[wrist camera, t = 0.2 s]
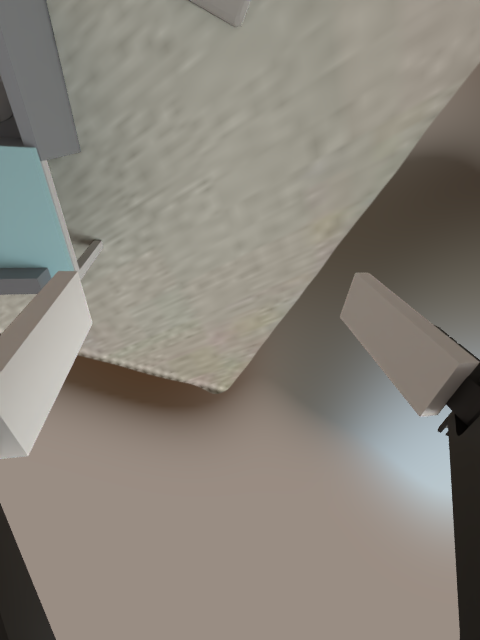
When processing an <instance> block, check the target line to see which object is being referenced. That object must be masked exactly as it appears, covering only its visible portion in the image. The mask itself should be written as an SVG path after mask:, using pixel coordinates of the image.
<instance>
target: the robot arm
mask: <svg viewBox="0 0 480 640" xmlns="http://www.w3.org/2000/svg"><path fill="white" fill-rule="evenodd" d="M340 318H341V319H342V320H343V322H344V323H345V324H346V325H347V327H348V328H349V329H350V330H351V331H352V333H353V334H354V335H355V336H356V338H357V339H358V340H359V342H360V343H361V344H362V345H363V346H364V348H365V349H366V350H367V351H368V353H369V354H370V355H371V356H372V358H373V359H374V360H375V361H376V363H377V364H378V365H379V366H380V368H381V369H382V370H383V371H384V373H385V374H386V375H387V376H388V378H389V379H390V380H391V381H392V383H393V384H394V385H395V386H396V388H397V389H398V390H399V391H400V393H401V394H402V395H403V396H404V398H405V399H406V400H407V401H408V403H409V404H410V405H411V406H412V408H413V409H414V410H415V411H416V413H417V414H418V415H419V416H420V417H423V416H433V415H438V414H439V413H440V411H441V410H442V409H443V408H444V406H445V405H447V406H448V407H449V408H450V409H451V410H452V412H451V413H450V414H449V416H448V417H447V418H446V419H445V420H444V422H443V423H442V424H441V425H440V426H439V428H438V431H439V432H442V431H443V430H444V428H446V427H447V428H448V432H447V433H446V435H447V436H449V449H450V465H451V483H452V501H453V519H454V537H455V553H456V572H457V590H458V607H459V625H460V640H480V360H479V359H478V358H476V357H475V356H474V355H473V354H472V353H470V352H469V351H468V350H467V349H465V348H464V347H463V346H462V345H460V344H457V342H456V341H455V340H454V339H453V338H451V337H449V335H447V333H445V332H444V331H443V330H441V329H440V328H439V327H437V326H435V325H433V324H432V323H430V322H429V321H428V320H427V319H425V318H424V317H423V316H422V315H420V314H419V313H418V312H417V311H416V310H414V309H413V308H412V307H411V306H409V305H408V304H407V303H406V302H404V301H403V300H402V299H401V298H399V297H398V296H397V295H396V294H394V293H393V292H392V291H391V290H389V289H388V288H387V287H386V286H384V285H383V284H382V283H381V282H379V281H378V280H377V279H376V278H375V277H373V276H372V275H371V274H370V273H355V275H354V278H353V281H352V284H351V287H350V289H349V292H348V295H347V298H346V301H345V304H344V306H343V309H342V312H341V315H340ZM91 325H92V319H91V316H90V312H89V309H88V305H87V302H86V298H85V295H84V291H83V288H82V284H81V281H80V277H79V274H78V271H58V272H57V273H56V274H55V275H54V276H53V277H52V278H51V280H50V281H49V282H48V283H47V284H46V285H45V286H44V287H43V288H42V290H41V291H40V292H39V293H38V294H37V295H36V296H35V297H34V298H33V300H32V301H31V302H30V303H29V304H28V305H27V306H26V307H25V308H24V310H23V311H22V312H21V313H20V314H19V315H18V316H17V317H16V319H15V320H14V321H13V322H12V323H11V324H10V325H9V326H8V327H7V329H6V330H5V331H4V332H3V333H2V334H0V459H5V458H15V457H25V456H28V455H29V453H30V451H31V449H32V447H33V445H34V443H35V441H36V439H37V437H38V435H39V433H40V431H41V429H42V426H43V424H44V422H45V420H46V418H47V416H48V414H49V412H50V410H51V408H52V406H53V404H54V402H55V400H56V398H57V395H58V393H59V391H60V389H61V387H62V385H63V383H64V381H65V379H66V377H67V375H68V373H69V371H70V369H71V366H72V365H73V362H74V360H75V358H76V356H77V354H78V352H79V350H80V348H81V346H82V344H83V342H84V340H85V338H86V336H87V334H88V331H89V329H90V327H91ZM0 640H56V639H55V636H54V634H53V631H52V629H51V626H50V624H49V622H48V619H47V617H46V614H45V612H44V609H43V607H42V604H41V602H40V599H39V597H38V595H37V592H36V590H35V587H34V585H33V582H32V580H31V577H30V575H29V573H28V570H27V568H26V565H25V563H24V560H23V558H22V555H21V553H20V550H19V548H18V546H17V543H16V541H15V538H14V536H13V533H12V531H11V528H10V526H9V523H8V521H7V519H6V516H5V514H4V511H3V509H2V506H1V504H0Z"/></svg>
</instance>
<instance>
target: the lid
mask: <svg viewBox="0 0 480 640" xmlns="http://www.w3.org/2000/svg"><path fill="white" fill-rule="evenodd" d="M58 271H74V268H73V265H72V262H71V259H70V255H69V252H68V249H67V246H66V243H65V239H64V236H63V233H62V230H61V226H60V223H59V220H58V217H57V214H56V210H55V207H54V204H53V201H52V198H51V194H50V191H49V188H48V185H47V182H46V178H45V175H44V172H43V169H42V165H41V162H40V159H39V156H38V153H37V149H36V147H21V146H5V145H0V295H4V294H38V293H39V292H40V291H41V290H42V288H43V287H44V286H45V285H46V284H47V283H48V282H49V281H50V280H51V278H52V277H53V276H54V275H55V274H56V273H57V272H58Z"/></svg>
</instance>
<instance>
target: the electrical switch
mask: <svg viewBox="0 0 480 640" xmlns="http://www.w3.org/2000/svg"><path fill="white" fill-rule="evenodd" d="M189 1H191V2H193V3H195V4H196V5H198V6H200V7H202V8H203V9H205V10H207V11H209V12H210V13H212V14H214V15H216V16H217V17H219V18H221V19H223V20H224V21H226V22H228V23H229V24H231V25H233V26H235V27H239V26H241V25H242V23H243V21H244V18H245V16H246V13H247V10H248V7H249V5H250V2H251V0H189Z"/></svg>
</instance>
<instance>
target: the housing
mask: <svg viewBox="0 0 480 640" xmlns="http://www.w3.org/2000/svg"><path fill="white" fill-rule="evenodd" d="M0 145H5V146H21V147H36V149H37V153H38V156H39V159H40V162H41V165H42V169H43V172H44V175H45V178H46V182H47V185H48V188H49V191H50V194H51V198H52V201H53V204H54V207H55V210H56V214H57V217H58V220H59V223H60V226H61V230H62V233H63V236H64V239H65V243H66V246H67V249H68V252H69V255H70V259H71V262H72V265H73V268H74V271H78V274H79V277H80V280H81V279H82V277H83V276H84V274H85V273H86V272H87V270H88V269H89V267H90V266H91V264H92V263H93V262H94V260H95V259H96V257H97V256H98V254H99V253H100V252H101V250H102V249H103V244H102V241H101V240H94V241H93V242H92V243H91V245H90V246H89V247H88V248H87V249H86V251H85V252H84V253H83V254H82V255H81V257H80V258H79V259H78V260H76V256H75V253H74V250H73V246H72V243H71V239H70V236H69V233H68V229H67V226H66V223H65V219H64V216H63V213H62V209H61V206H60V203H59V199H58V196H57V193H56V189H55V186H54V183H53V179H52V176H51V172H50V169H49V166H48V162H47V160H49V159H53V158H57V157H62V156H66V155H70V154H75V153H79V152H81V149H80V145H79V141H78V136H77V132H76V128H75V124H74V119H73V115H72V111H71V106H70V102H69V98H68V93H67V89H66V85H65V81H64V76H63V72H62V68H61V63H60V59H59V55H58V50H57V46H56V42H55V37H54V33H53V29H52V25H51V20H50V16H49V12H48V7H47V3H46V0H0Z"/></svg>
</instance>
